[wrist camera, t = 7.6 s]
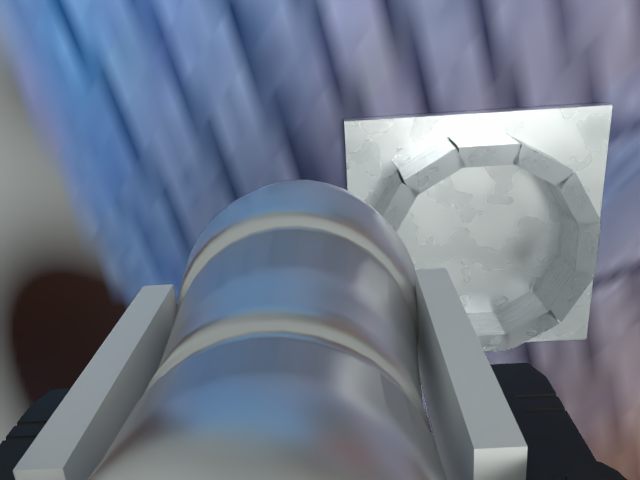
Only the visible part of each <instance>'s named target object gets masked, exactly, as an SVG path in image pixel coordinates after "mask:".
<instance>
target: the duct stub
mask: <svg viewBox="0 0 640 480" xmlns="http://www.w3.org/2000/svg"><path fill="white" fill-rule="evenodd" d="M612 106H613V105H611V104H608V103H590V104H574V105H558V106H541V107H525V108H509V109H493V110H477V111H460V112H444V113H428V114H412V115H396V116H379V117H363V118H347V119H344V131H345V152H346V173H347V190H348V191H350V192H351V193H353V194H355V195H356V196H358V197H359V198H361V199H363V200H364V201H366V202H367V203H368V204H369V205H370V206H371V207H372V208H374V209H375V210H376V211H377V212H378V213H379V214H380V215H381V216H382V217H383V218H384V219H385V220H386V221H387V222H388V223H389V224H390V225H391V226H392V227H393V229H394V230H395V231H396V233H397V234H398V236H399V237H400V238H401V240H402V241H403V242H404V244H405V246H406V248H407V250H408V252H409V255H410V257H411V259H412V261H413V264H414V266H415V270H421V269H437V268H446V269H447V271H448V274H449V276H450V278H451V280H452V282H453V285H454V287H455V289H456V291H457V293H458V295H459V298H460V300H461V302H462V304H463V306H464V309H465V311H466V313H467V315H468V317H469V320H470V322H471V324H472V326H473V328H474V330H475V333H476V335H477V337H478V339H479V341H480V344H481V346H482V348H483V350H484V352H486V351H506V350H508V346H509V347H510V349H513V348H515V347H517V346H519V345H521V344H522V343H524V342H537V341H556V340H576V339H587V330H588V321H589V312H590V303H591V294H592V285H593V278H594V277H593V276H594V275H595V271H596V262H597V253H598V244H599V235H600V227H601V222H600V213H601V204H602V195H603V186H604V177H605V168H606V159H607V151H608V142H609V133H610V124H611V115H612Z"/></svg>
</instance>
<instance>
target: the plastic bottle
mask: <svg viewBox="0 0 640 480" xmlns="http://www.w3.org/2000/svg"><path fill="white" fill-rule="evenodd" d="M418 340H419V331H418V310H417V300H416V290H415V266H414V264H413V261H412V259H411V257H410V255H409V252H408V250H407V248H406V246H405V244H404V242H403V241H402V240H401V238H400V237H399V236H398V234H397V233H396V231H395V230H394V229H393V227H392V226H391V225H390V224H389V223H388V222H387V221H386V220H385V219H384V218H383V217H382V216H381V215H380V214H379V213H378V212H377V211H376V210H375V209H374V208H372V207H371V206H370V205H369V204H368V203H367V202H366V201H364V200H363V199H361V198H359V197H358V196H356V195H355V194H353V193H351V192H350V191H348V190H345V189H343V188H340V187H337V186H335V185H332V184H329V183H325V182H318V181H312V180H286V181H281V182H277V183H273V184H269V185H265V186H263V187H261V188H259V189H257V190H255V191H252V192H250V193H248V194H246V195H244V196H243V197H241V198H239V199H237V200H235V201H234V202H232V203H231V204H230V205H229V206H227V207H226V208H225V209H223V210H222V211H221V212H219V213H218V214H217V215H216V216H215V217H214V218H213V219H212V220H211V221H210V223H209V224H208V225H207V226H206V227H205V229H204V230H203V231H202V232H201V234H200V235H199V237H198V239H197V241H196V243H195V245H194V247H193V249H192V251H191V252H190V256H189V259H188V263H187V266H186V270H185V273H184V277H183V281H182V284H181V288H180V292H179V295H178V306H177V317H176V320H175V323H174V326H173V328H172V331H171V334H170V337H169V340H168V342H167V345H166V348H165V351H164V354H163V356H162V359H161V362H160V365H159V368H158V370H157V372H156V373H155V375H154V377H153V378H152V380H151V381H150V383H149V385H148V387H147V389H146V390H145V392H144V394H143V396H142V397H141V399H140V400H139V401H138V402H137V404H136V406H135V407H134V409H133V411H132V412H131V414H130V415H129V417H128V419H127V420H126V422H125V423H124V425H123V427H122V428H121V430H120V432H119V433H118V435H117V436H116V438H115V440H114V441H113V443H112V445H111V446H110V448H109V449H108V451H107V453H106V454H105V456H104V458H103V459H102V461H101V462H100V464H99V465H98V466H97V468H96V469H95V470H94V471H93V473H92V474H91V475H90V476H89V478H88V479H87V480H447V478H446V475H445V472H444V468H443V465H442V462H441V459H440V456H439V453H438V450H437V447H436V443H435V441H434V439H433V437H432V435H431V430H430V426H429V422H428V419H427V415H426V412H425V409H424V406H423V402H422V392H421V382H420V373H419V363H418V353H417V347H418Z"/></svg>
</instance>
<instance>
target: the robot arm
mask: <svg viewBox="0 0 640 480" xmlns="http://www.w3.org/2000/svg"><path fill="white" fill-rule="evenodd" d="M415 290H416V300H417V310H418V331H419V340H418V347H417V353H418V363H419V373H420V380H421V384H422V389H423V393H424V397H425V401H426V405H427V409H428V413H429V417H430V421H431V425H432V429H433V434H434V438H435V442H436V446H437V450H438V453H439V456H440V459H441V462H442V465H443V468H444V472H445V475H446V478H447V480H627V479H626V478H625V477H623V476H622V475H621V474H620V473H619V472H618V471H616V470H615V469H613V468H611V467H609V466H607V465H605V464H603V463H601V462H598V461H596V459H595V458H594V456H593V454H592V453H591V451H590V449H589V448H588V446H587V444H586V443H585V441H584V439H583V438H582V436H581V434H580V433H579V431H578V429H577V428H576V426H575V424H574V423H573V421H572V419H571V418H570V416H569V414H568V413H567V411H565V409H564V406H563V404H562V403H561V401H560V399H559V398H558V397H556V393H555V391H554V389H553V388H552V386H551V384H550V383H549V381H548V379H547V378H546V376H544V375H543V374H542V373H540V372H539V371H537V370H536V369H535V368H533V367H532V366H531V365H529V364H528V363H514V364H495V365H490V363H489V361H488V359H487V357H486V354H485V352H484V350H483V348H482V346H481V344H480V341H479V339H478V337H477V335H476V333H475V330H474V328H473V326H472V324H471V322H470V320H469V317H468V315H467V313H466V311H465V309H464V306H463V304H462V302H461V300H460V298H459V295H458V293H457V291H456V289H455V287H454V285H453V282H452V280H451V278H450V276H449V274H448V271H447V269H446V268H437V269H421V270H415ZM176 317H177V303H176V298H175V292H174V286H173V284H170V285H153V286H143V287H142V289H141V290H140V292H139V293H138V294H137V296H136V297H135V299H134V300H133V301H132V303H131V304H130V306H129V307H128V309H127V310H126V311H125V313H124V314H123V316H122V317H121V319H120V320H119V321H118V323H117V324H116V325H115V327H114V328H113V330H112V331H111V333H110V334H109V335H108V337H107V338H106V340H105V341H104V343H103V344H102V345H101V347H100V348H99V349H98V351H97V352H96V354H95V355H94V357H93V358H92V359H91V361H90V362H89V364H88V365H87V367H86V368H85V369H84V371H83V372H82V373H81V375H80V376H79V378H78V379H77V381H76V382H75V383H74V385H73V386H72V388H71V389H55V390H51V391H50V392H48V393H47V394H46V395H44V396H43V397H42V398H40V399H39V400H37V401H36V402H35V403H33V404H32V405H31V406H30V407H29V408H28V410H27V411H26V412H25V414H24V415H23V416H22V417H21V418H20V420H19V421H18V422H17V426H14V427H13V429H12V430H11V431H10V432H9V434H8V435H7V436H6V441H2V443H1V444H0V480H87V479H88V478H89V476H90V475H91V474H92V473H93V471H94V470H95V469H96V468H97V466H98V465H99V464H100V462H101V461H102V459H103V458H104V456H105V454H106V453H107V451H108V449H109V448H110V446H111V445H112V443H113V441H114V440H115V438H116V436H117V435H118V433H119V432H120V430H121V428H122V427H123V425H124V423H125V422H126V420H127V419H128V417H129V415H130V414H131V412H132V411H133V409H134V407H135V406H136V404H137V402H138V401H139V400H140V399H141V397H142V396H143V394H144V392H145V390H146V389H147V387H148V385H149V383H150V381H151V380H152V378H153V377H154V375H155V373H156V372H157V370H158V368H159V365H160V362H161V359H162V356H163V354H164V351H165V348H166V345H167V342H168V340H169V337H170V334H171V331H172V328H173V326H174V323H175V320H176Z"/></svg>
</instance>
